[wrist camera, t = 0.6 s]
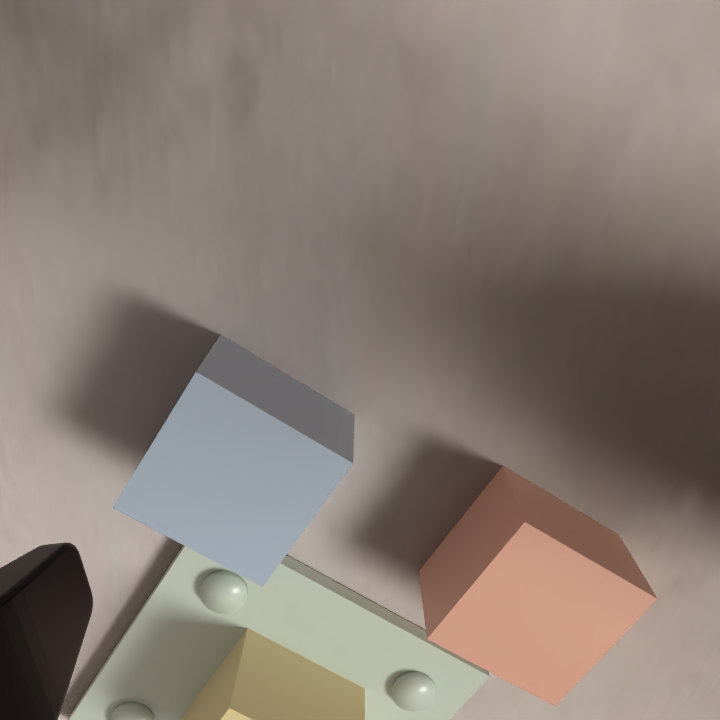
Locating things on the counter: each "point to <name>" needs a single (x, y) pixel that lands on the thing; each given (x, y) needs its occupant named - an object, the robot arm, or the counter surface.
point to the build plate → (289, 618)
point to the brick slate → (241, 463)
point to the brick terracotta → (531, 588)
